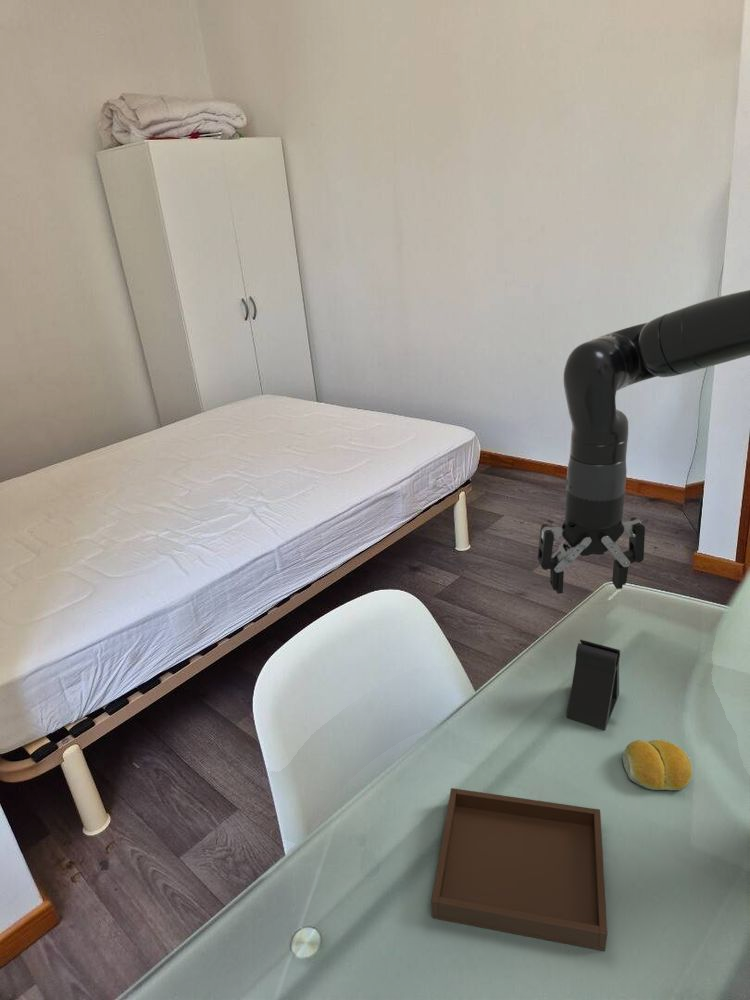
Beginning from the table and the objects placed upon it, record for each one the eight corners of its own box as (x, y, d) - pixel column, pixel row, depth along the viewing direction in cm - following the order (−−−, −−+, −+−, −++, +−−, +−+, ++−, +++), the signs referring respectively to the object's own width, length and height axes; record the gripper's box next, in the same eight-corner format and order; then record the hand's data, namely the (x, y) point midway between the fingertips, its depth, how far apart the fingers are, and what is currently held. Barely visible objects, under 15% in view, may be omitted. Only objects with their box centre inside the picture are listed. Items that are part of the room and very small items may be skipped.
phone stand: (604, 731, 106) (610, 669, 101) (566, 718, 109) (570, 658, 104) (619, 695, 113) (625, 635, 108) (582, 683, 116) (587, 625, 111)
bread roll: (699, 793, 95) (703, 772, 93) (632, 793, 95) (635, 773, 94) (678, 747, 102) (682, 727, 100) (617, 748, 103) (619, 728, 101)
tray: (598, 825, 91) (600, 809, 90) (605, 951, 77) (607, 934, 75) (451, 803, 96) (451, 787, 95) (432, 918, 82) (431, 901, 80)
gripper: (549, 502, 88) (545, 607, 95) (659, 493, 88) (647, 599, 95) (535, 479, 95) (532, 578, 102) (637, 470, 95) (627, 570, 102)
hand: (587, 588), depth 99 cm, fingers open, 8 cm apart
